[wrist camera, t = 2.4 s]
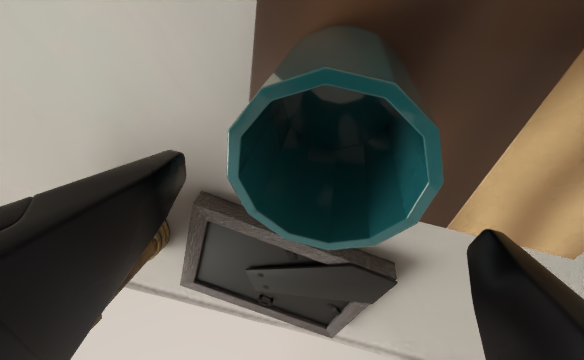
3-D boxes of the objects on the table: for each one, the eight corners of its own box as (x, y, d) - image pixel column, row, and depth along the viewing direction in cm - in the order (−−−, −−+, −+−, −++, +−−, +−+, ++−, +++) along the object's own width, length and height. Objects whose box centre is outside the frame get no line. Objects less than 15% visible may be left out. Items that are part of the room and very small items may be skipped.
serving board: (848, 14, 11) (894, 17, 10) (563, 246, 20) (573, 259, 19) (272, -108, 12) (265, -114, 11) (247, 169, 21) (242, 178, 20)
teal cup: (427, 42, 13) (495, 106, 7) (376, 160, 18) (389, 266, 11) (287, 11, 14) (230, 45, 7) (270, 134, 18) (224, 224, 11)
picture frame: (394, 263, 25) (201, 191, 23) (397, 283, 23) (190, 207, 22) (332, 324, 33) (186, 273, 32) (331, 342, 31) (178, 288, 30)
